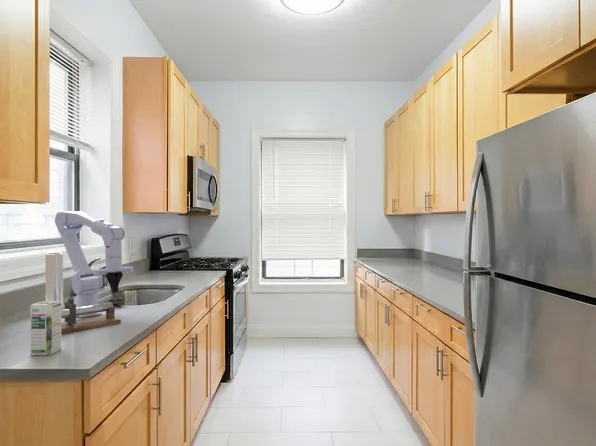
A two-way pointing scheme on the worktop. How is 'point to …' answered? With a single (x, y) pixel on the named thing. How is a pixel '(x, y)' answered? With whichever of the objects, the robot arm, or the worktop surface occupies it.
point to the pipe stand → (90, 322)
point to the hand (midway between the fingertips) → (114, 291)
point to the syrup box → (45, 328)
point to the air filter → (54, 277)
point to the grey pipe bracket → (71, 311)
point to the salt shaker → (115, 298)
